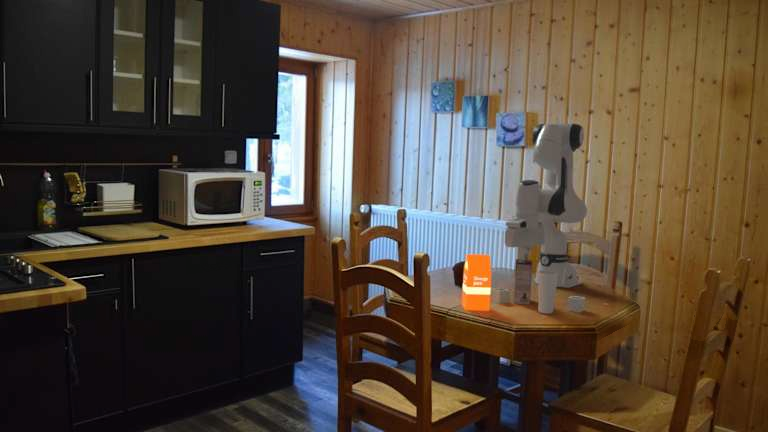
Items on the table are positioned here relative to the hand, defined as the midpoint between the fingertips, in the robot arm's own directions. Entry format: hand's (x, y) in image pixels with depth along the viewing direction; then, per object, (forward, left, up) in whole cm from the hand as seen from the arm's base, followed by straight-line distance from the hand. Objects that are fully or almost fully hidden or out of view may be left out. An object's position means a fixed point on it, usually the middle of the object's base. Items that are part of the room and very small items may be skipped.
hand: (524, 257), depth 253 cm
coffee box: (0, 0, -18) cm, 18 cm away
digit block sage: (+8, -4, -18) cm, 20 cm away
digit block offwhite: (-7, +20, -18) cm, 28 cm away
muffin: (-3, -34, -18) cm, 39 cm away
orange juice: (+24, -2, -18) cm, 30 cm away
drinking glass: (+6, +16, -18) cm, 25 cm away
